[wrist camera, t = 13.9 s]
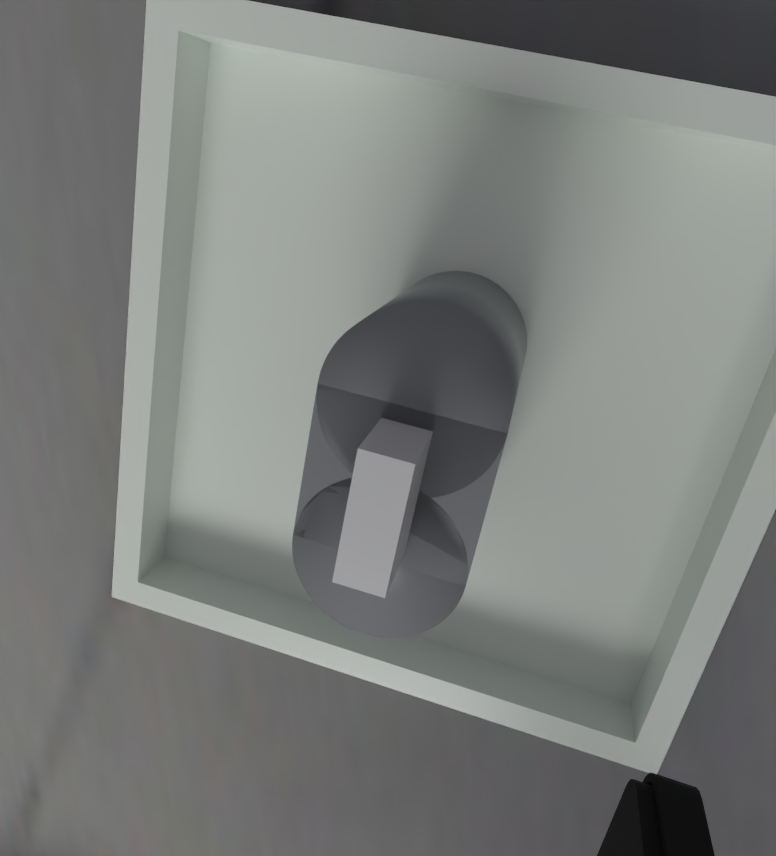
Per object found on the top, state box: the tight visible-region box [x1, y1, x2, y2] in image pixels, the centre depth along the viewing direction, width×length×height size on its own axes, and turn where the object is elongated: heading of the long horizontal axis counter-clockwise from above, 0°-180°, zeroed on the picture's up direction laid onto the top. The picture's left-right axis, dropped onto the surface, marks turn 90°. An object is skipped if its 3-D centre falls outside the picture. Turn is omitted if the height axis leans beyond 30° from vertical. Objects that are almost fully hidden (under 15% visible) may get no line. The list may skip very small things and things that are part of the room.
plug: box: [292, 271, 527, 638], centre depth 19 cm, size 4×8×9 cm, turn 169°
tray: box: [112, 0, 776, 774], centre depth 22 cm, size 20×20×2 cm
